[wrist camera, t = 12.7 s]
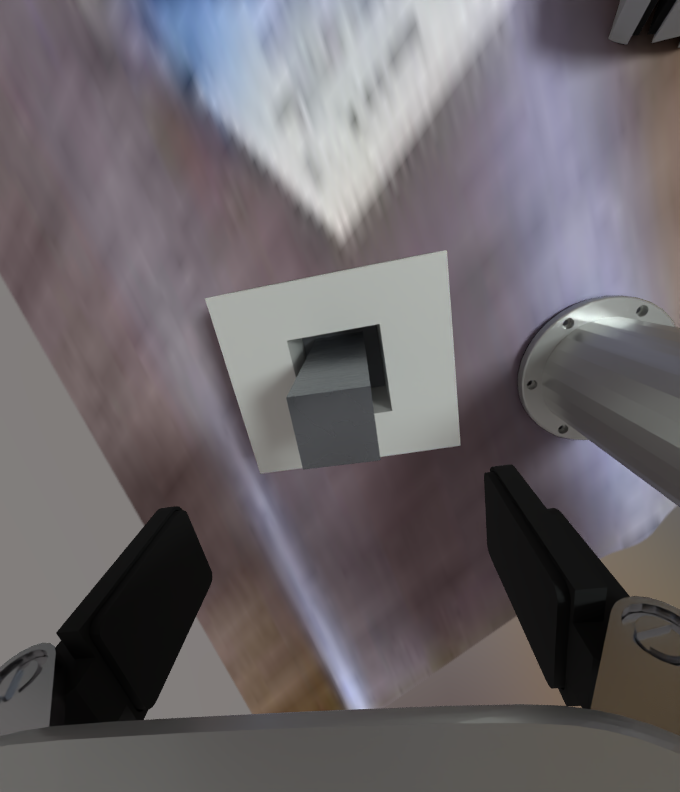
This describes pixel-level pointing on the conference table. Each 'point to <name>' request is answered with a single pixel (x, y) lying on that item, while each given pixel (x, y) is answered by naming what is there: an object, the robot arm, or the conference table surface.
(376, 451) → the bracket bar
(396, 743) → the robot arm
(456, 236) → the conference table surface
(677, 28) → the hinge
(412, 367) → the well block
